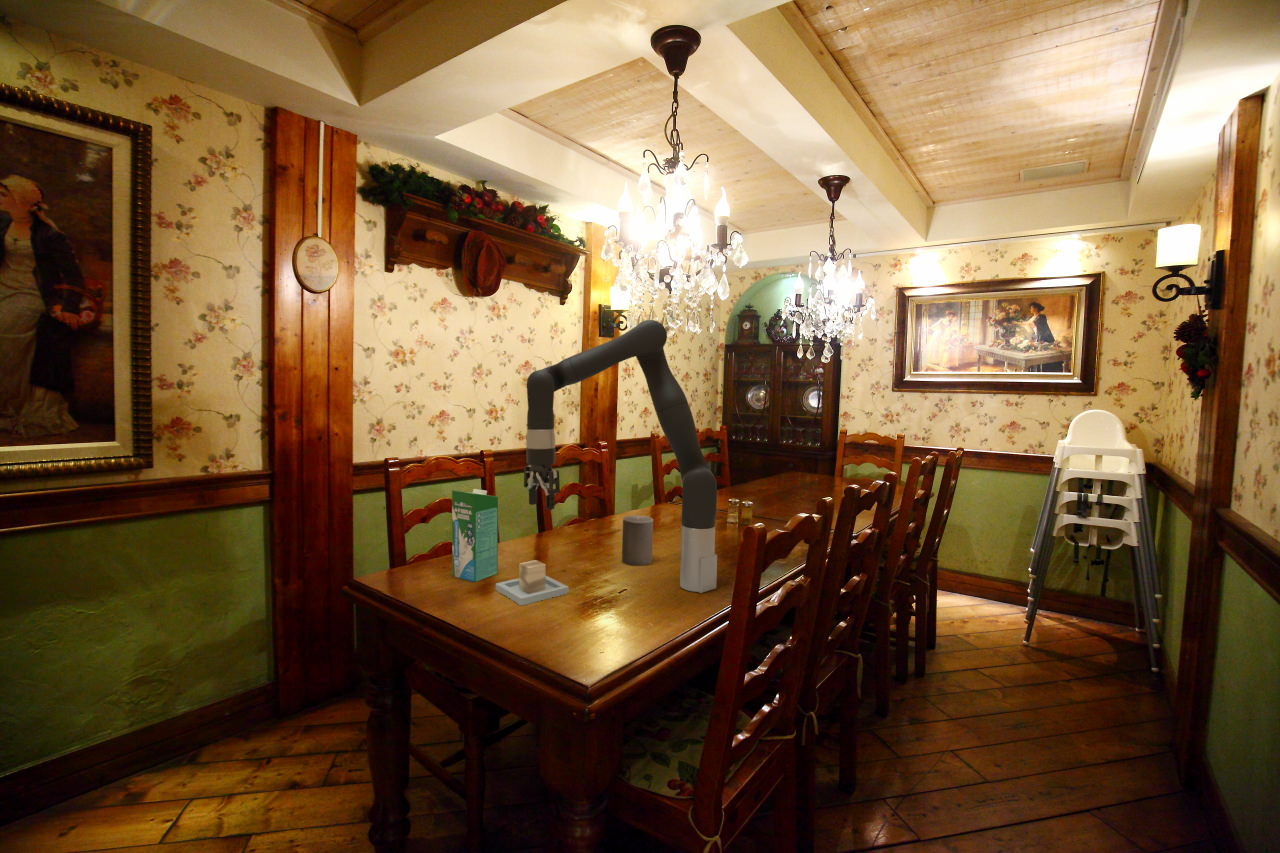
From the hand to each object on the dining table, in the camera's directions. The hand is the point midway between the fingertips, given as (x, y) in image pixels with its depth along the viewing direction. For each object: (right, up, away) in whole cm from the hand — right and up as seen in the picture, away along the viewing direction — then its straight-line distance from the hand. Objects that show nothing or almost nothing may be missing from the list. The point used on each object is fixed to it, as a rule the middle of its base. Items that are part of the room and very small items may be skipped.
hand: (541, 506), depth 153 cm
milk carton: (-21, -22, +13) cm, 33 cm away
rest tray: (-2, -23, 0) cm, 23 cm away
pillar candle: (+25, -22, +29) cm, 44 cm away
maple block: (-2, -22, 0) cm, 22 cm away
